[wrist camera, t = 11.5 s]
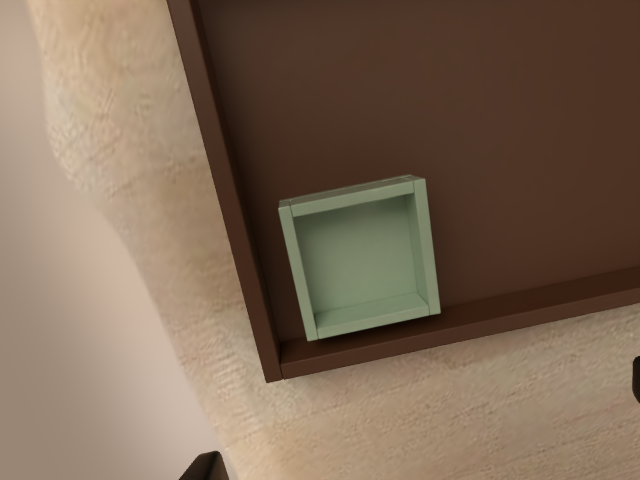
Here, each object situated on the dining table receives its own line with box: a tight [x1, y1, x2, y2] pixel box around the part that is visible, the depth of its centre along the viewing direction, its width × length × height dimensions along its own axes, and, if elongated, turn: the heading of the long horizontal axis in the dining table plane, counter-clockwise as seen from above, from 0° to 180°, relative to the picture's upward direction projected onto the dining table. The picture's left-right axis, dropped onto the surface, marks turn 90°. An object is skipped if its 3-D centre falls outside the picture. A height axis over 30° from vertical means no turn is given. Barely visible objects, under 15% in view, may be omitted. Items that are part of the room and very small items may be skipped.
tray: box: [167, 0, 640, 383], centre depth 17 cm, size 28×18×2 cm, turn 101°
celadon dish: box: [278, 174, 441, 341], centre depth 17 cm, size 6×6×2 cm
